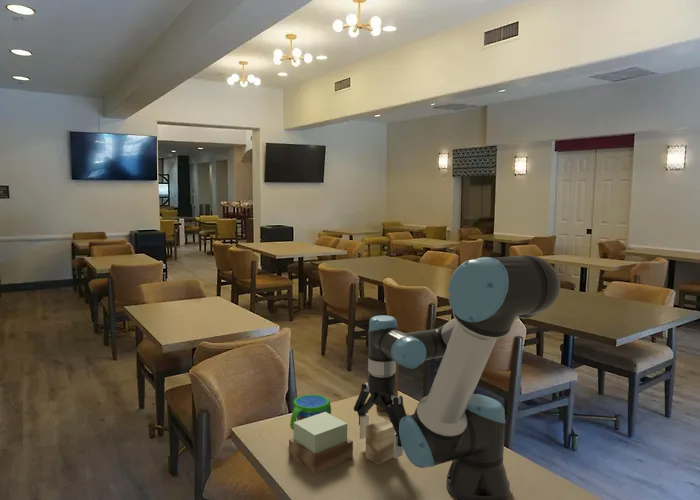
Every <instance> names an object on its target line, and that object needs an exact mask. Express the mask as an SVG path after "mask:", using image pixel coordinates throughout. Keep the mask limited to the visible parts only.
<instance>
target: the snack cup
mask: <svg viewBox="0 0 700 500" xmlns="http://www.w3.org/2000/svg"><path fill="white" fill-rule="evenodd" d="M293 406H294V408H293V410H292V414H291V416H290V423H289V425H290V428H291V430H292V431H294V424H293V422H296V421H299V420H302V419H305V418H308V417H311V416H314V415H317V414H320V413H323V412H327V413H329V414H330V415H332V406H331V402H330V399H329V398H327V397H326V396H323V395H320V394H303V395H301V396H298V397H296V398H295V399H294V400H293Z"/></svg>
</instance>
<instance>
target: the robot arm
mask: <svg viewBox="0 0 700 500" xmlns="http://www.w3.org/2000/svg"><path fill="white" fill-rule="evenodd" d="M447 289H448V292H447V293H449V294H450V295H449V297H448V303H449V305H450V308H451V310H452V315H453V318H452V319H450V320H449V321H448V322H446V323H444V324H443V325H442V326H439V327H438V328H434V329H433V328H432V329H425V330H418V331H410V332H403V331H402V330H399V329H398V321H397V318H395V317H394V316H391V315H383V314H382V315H375V316H372V317H371V318H370V319H369V323H368V324H369V325H368V331H367V332H368V360H367V361H368V363H367V372H368V374H367V382H365V383H362V384H361V387H360V388H361V390H360V392H359V394H358V396H357V399H356V401H355V404H354V406H353V411H354V412H356V413H357V415H358V425H359V439H360V440H363V439H366V426H367V425H370V422H369V421H370V420H369V419H370V418H369V417H370V414H368V413H369V411H370V410H371V409H372V407H373V406H374V405H375V406H376V405H378V406H380V407H381V408H383V409H384V411H385V412H384V413H386V414H387V416H388V418H389V420H390V421H389V422H391V423H392V425H393V427H394V429H395V431H396V434H394V457H393V458H394V459H397V458H400V457H402V456H403V454H404V453H405V456H406V458H407V459H408V461H409V462H410V463H411V464H412V465H413V466H415V467H416V468H420V469H424V468H429V467H430V468H432V467H434V466H438V465H440V464H441V465H442V464H445V463H448V462H451V464H450V467H449V469H448V471H447V475H446V481H445V482H446V483H445V484H446V489H447V492H448V493H449V495H451V496H452V497H453V498H454V499H456V500H508V499H509V497H510V490H511V489H510V488H511V487H510V486H511V485H510V481H509V479H508V476H507V471H506V468H505V464H504V453H505V451H504V448H505V430H506V418H505V414H506V411H505V407H504V405H503V404H502V403H501V401H498V400H497V399H494V398H493V397H490V396H487V395H483V394H479V393H475V390H476V389H477V386H478V383H479V381H480V378H481V377H482V374H483V372H484V370H485V367H486V366H487V363H488V361H489V358H490V356H491V353H492V351H493V349H494V347H495V344H496V342H497V340H498V339H501V338H503V337H505V336H507V335H508V334H509V333H510V331H511V328H512V326H513V324H514V322H515V321H516V320H518V319H520V318H521V319H530V318H532V317H535V316H536V315H538V314H541V313H542V312H545V311H546V310H549V308H551V307H552V306H553V305H554V304H555V303H556V301H557V300H558V298H559V295H560V291H561V281H560V277H559V274H558V272H557V270H556V269H555V267H553V266H552V264H551V263H550V262H548V261H547V260H545V259H543V258H541V257H539V256H536V255H531V254H527V255H526V254H525V255H513V256H501V257H500V256H499V257H490V256H483V257H479V258H476V259H470V260H469V259H468V260H467V261H464V262H463V263H461V264H460V265H459V266H458V267H456V269H455V270H454V271H453V273H452V276H451V277H450V280H449V283H448V288H447ZM440 358H442V359H441V361H440V364H439V366H438V369H437V372H436V375H435V377H434V380H433V383H432V386H431V387H430V390H429V393H428V394H427V395H426V396H424V397H422V398H421V399H420V400H419V402H417V405H416V408H415V410H414V413H412V414H407V412H406V410H405V407H404V398H403V396H402V395H398V396H394V393H393V390H394V388H395V385H396V374H395V372H396V363H397V364H398V366H401V367H405V368H406V369H416V368H418V367H419V366H421V365H422V364H423V363H424V362H425V361H429V360H434V359H440ZM390 404H391V407H388V406H389V405H390ZM403 452H404V453H403Z"/></svg>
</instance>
